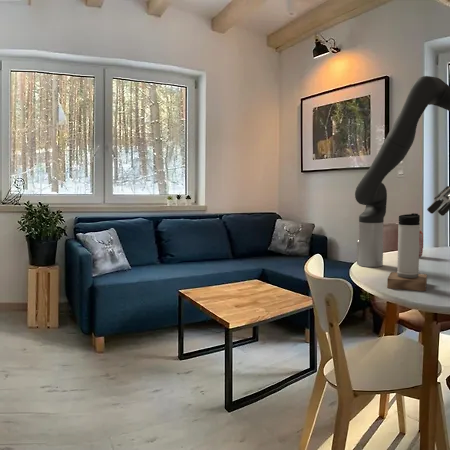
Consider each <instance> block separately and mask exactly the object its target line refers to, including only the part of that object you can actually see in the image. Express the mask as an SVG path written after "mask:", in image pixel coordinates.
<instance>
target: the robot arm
mask: <svg viewBox="0 0 450 450" xmlns="http://www.w3.org/2000/svg"><path fill="white" fill-rule="evenodd" d="M429 105H432V106H436V107H439V108H442V109H444V110H446V111H448V112H450V85H448V84H447V82H445V81H444V80H442V79H441V78H439V77H437V76H430V75H424V76H421V77H419V78H417V79H416V80H415V82H413V84H412V86H411V87H410V89H409V92H408V94H407V96H406V99H405V102H404V104H403V106H402V108H401V110H400V113H399V114H398V116H397V118H396V120H395V121H394V123H393V125H392V127H391V129H390V130H389V132H388V133H387V136H386V137H385V139H384V141H383V143H382V144H381V146H380V149H379V150H378V153H377V154H376V156H375V158H374V159H373V161H372V163H371V165H370V167H369V168H368V170H367V171H366V173H365V174H364V175H363V177H362V179H361V180H360V181H359V183H358V184H357V187H356V188H355V192H354V196H355V197H354V198H355V200H356V201H355V202H357V203H358V204H359V205H363V206H365V209H364V210H363V212H361V213H360V214H359V215H358V240H357V241H356V264H357V265H358V266H361V267H366V268H379V267H382V266H383V265H384V263H383V262H384V219H385V216H386V213H387V201H388V193H387V192H388V191H387V188H386V186H385V184H384V183H383V181H384V179H385V178H386V176H388V174H389V173H391V172H392V171H393V169H395V168H396V167H397V166H398V165H399V164H400V163H401V162H402V161H403V160H404V159H405V157H406V156H407V154H408V152H409V151H410V149H411V147H412V145H413V144H414V142H415V138H416V133H417V127H418V123H419V121H420V119H421V117H422V116H423V113H424V112H425V110H426V108H427V107H428V106H429ZM433 199H434V202H432V203H431V204H430V205H428V207H427V209H426V211H427V212H429V213H430V214H434V213H435V212H436V211H437V213H438V214H439V215H440V216H441V217H442V216H445V215H446V214H447V213H448V212H449V211H450V186H449V185H447V186H446V187H444V188H443V190H442V191H440V192H439V193H438V194H437V195H436V196H435V197H433Z"/></svg>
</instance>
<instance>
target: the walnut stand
mask: <svg viewBox="0 0 450 450" xmlns="http://www.w3.org/2000/svg"><path fill="white" fill-rule="evenodd" d="M427 279H428V274H427V273H425V274H424V273H419V274H418V277H417V278H402V277H399V276H398V275H397V271H396V272H395V271H394V272H393V271H391V272H390V273H389V276H388V277H387V281H386V282H387V285H386V286H387V287H386V288H387V289H395V290H406V291H407V290H409V291H421V292H426V290H427Z"/></svg>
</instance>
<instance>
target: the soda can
mask: <svg viewBox="0 0 450 450" xmlns="http://www.w3.org/2000/svg"><path fill="white" fill-rule="evenodd" d="M422 231H423V230H422V229H421V228H420V235H419V258H421V257H422V256H423V251H424V248H423V247H424V233H423V232H422Z"/></svg>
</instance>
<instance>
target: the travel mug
mask: <svg viewBox="0 0 450 450" xmlns="http://www.w3.org/2000/svg"><path fill="white" fill-rule="evenodd" d="M420 216H421V215H420V214H419V213H416V212H415V213H414V212H413V213H408V214H407V213H406V214H401V215H399V216H398V224H397V225H398V229H397V232H398V233H397V234H398V235H397V268H396V269H397V271H396V272H397V275H398V276H399V277H402V278H417V277H418V274H420V273H419V271H420V270H419V267H420V257H419V235H420V229H421V228H420V226H421V224H420V221H421V217H420Z"/></svg>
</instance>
